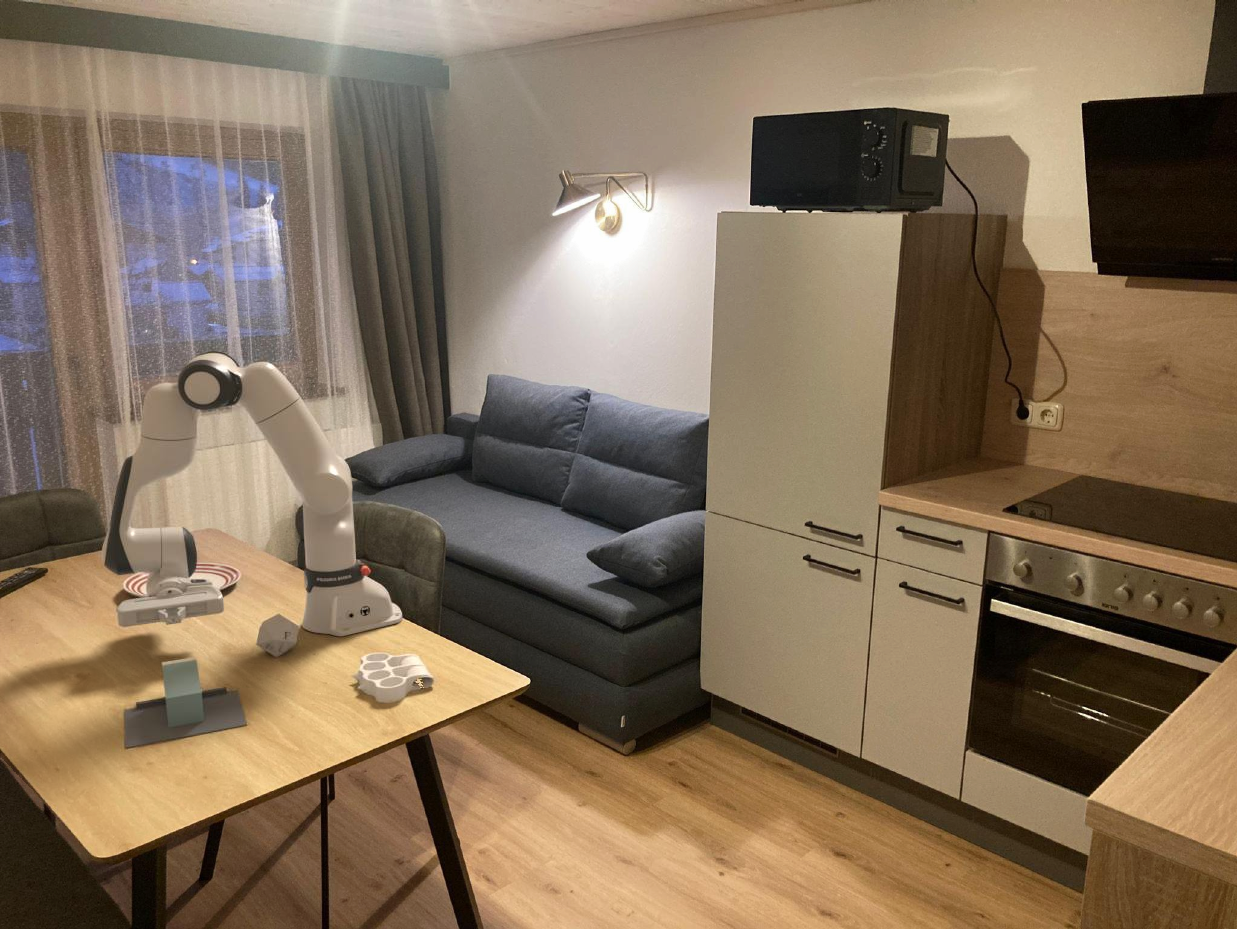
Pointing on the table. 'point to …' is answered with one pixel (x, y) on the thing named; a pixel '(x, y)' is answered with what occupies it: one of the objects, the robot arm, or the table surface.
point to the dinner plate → (212, 571)
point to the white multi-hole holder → (391, 675)
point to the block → (182, 692)
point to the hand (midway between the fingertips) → (173, 620)
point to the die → (277, 635)
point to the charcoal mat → (152, 725)
